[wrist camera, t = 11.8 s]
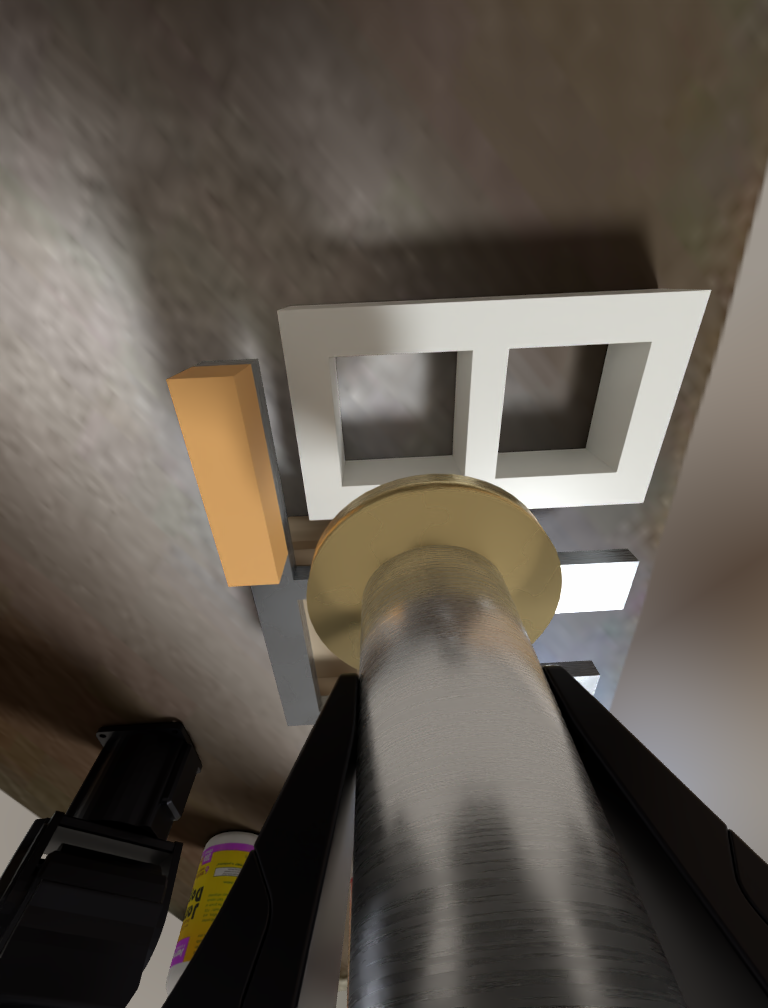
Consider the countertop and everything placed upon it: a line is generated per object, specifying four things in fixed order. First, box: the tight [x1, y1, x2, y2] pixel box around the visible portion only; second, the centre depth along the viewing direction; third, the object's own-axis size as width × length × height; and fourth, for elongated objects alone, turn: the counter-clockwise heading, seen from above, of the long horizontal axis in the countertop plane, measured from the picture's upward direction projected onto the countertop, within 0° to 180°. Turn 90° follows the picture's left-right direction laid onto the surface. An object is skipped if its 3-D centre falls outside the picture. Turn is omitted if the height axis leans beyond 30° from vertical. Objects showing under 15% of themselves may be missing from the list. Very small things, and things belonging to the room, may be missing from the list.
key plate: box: [166, 359, 639, 726], centre depth 18 cm, size 18×20×3 cm
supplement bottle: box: [166, 831, 258, 996], centre depth 36 cm, size 7×7×13 cm
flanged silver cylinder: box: [306, 474, 688, 1008], centre depth 9 cm, size 7×7×11 cm
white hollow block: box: [277, 289, 711, 520], centre depth 18 cm, size 16×9×3 cm, turn 92°
